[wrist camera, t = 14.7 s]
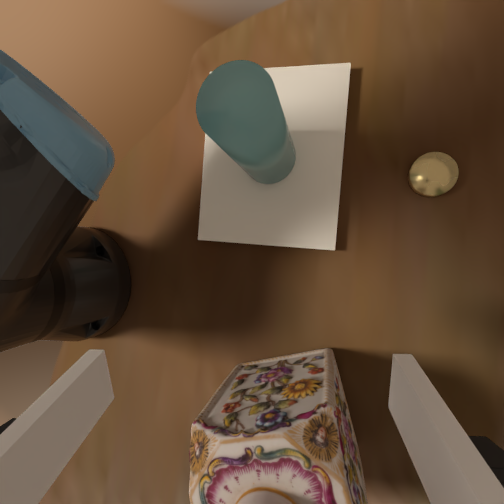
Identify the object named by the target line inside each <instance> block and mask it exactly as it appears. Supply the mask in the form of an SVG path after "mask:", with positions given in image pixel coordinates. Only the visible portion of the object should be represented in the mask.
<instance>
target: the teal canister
mask: <svg viewBox="0 0 504 504" xmlns="http://www.w3.org/2000/svg"><path fill="white" fill-rule="evenodd" d="M196 113H197V118H198V121H199V124H200V126H201V128H202V129H203V131H204V132H205V133H206V134H207V135H208V136H209V137H210V138H211V139H212V140H213V141H214V142H215V143H216V144H217V145H218V146H219V147H220V148H221V149H222V150H223V151H224V152H225V153H226V154H227V155H228V156H229V157H231V158H232V159H233V160H234V161H235V162H236V163H237V164H238V165H239V166H240V167H241V168H242V169H243V170H244V171H245V172H246V173H247V174H248V175H249V176H250V177H251V178H252V179H254V180H255V181H257V182H259V183H262V184H274V183H277V182H279V181H281V180H283V179H284V178H286V177H287V176H288V175H289V173H290V172H291V171H292V169H293V167H294V164H295V160H296V151H295V147H294V144H293V141H292V138H291V135H290V132H289V128H288V125H287V122H286V119H285V116H284V113H283V110H282V107H281V104H280V101H279V97H278V94H277V91H276V88H275V85H274V82H273V80H272V78H271V76H270V75H269V73H268V72H267V71H266V70H265V69H264V68H263V67H261V66H260V65H258V64H256V63H254V62H251V61H246V60H236V61H231V62H228V63H225V64H223V65H221V66H219V67H218V68H216V69H215V70H214V71H213V72H212V73H210V74H209V76H208V77H207V78H206V79H205V81H204V82H203V84H202V86H201V88H200V90H199V93H198V96H197V102H196Z"/></svg>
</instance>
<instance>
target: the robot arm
mask: <svg viewBox="0 0 504 504" xmlns="http://www.w3.org/2000/svg"><path fill="white" fill-rule="evenodd" d="M114 162H115V158H114V152H113V150H112V148H111V146H110V144H109V143H108V142H107V140H106V139H105V138H104V137H103V135H102V134H100V132H99V131H98V130H97V129H96V128H95V127H93V126H92V125H91V124H90V123H89V122H88V121H87V120H86V119H85V118H84V117H83V116H81V114H79V113H78V112H77V111H76V110H75V109H74V108H73V107H71V106H70V105H69V104H68V103H67V102H66V101H64V100H63V99H62V98H61V97H60V96H59V95H57V94H56V93H55V92H54V91H53V90H51V89H50V88H49V87H48V86H47V85H45V84H44V83H43V82H42V81H41V80H39V79H38V78H37V77H36V76H34V75H33V74H32V73H31V72H29V71H28V70H27V69H25V68H24V67H23V66H22V65H20V64H19V63H18V62H17V61H15V60H14V59H13V58H11V57H10V56H9V55H7V54H6V53H5V52H3V51H2V50H0V352H3V351H6V350H9V349H12V348H16V347H18V346H22V345H25V344H27V343H31V342H34V341H37V340H48V341H49V340H50V341H80V340H85V339H89V338H91V337H94V336H97V335H100V334H102V333H104V332H106V331H107V330H109V329H110V328H112V327H113V326H114V325H115V324H116V323H117V322H118V320H119V319H120V318H121V316H122V315H123V313H124V311H125V309H126V306H127V304H128V300H129V296H130V288H131V279H130V271H129V267H128V264H127V261H126V258H125V256H124V254H123V252H122V251H121V249H120V247H119V246H118V245H117V244H116V242H115V241H114V240H113V239H112V238H110V237H109V236H108V235H106V234H105V233H103V232H101V231H99V230H97V229H93V228H89V227H78V224H79V223H80V221H81V220H82V218H83V217H84V215H85V214H86V212H87V211H88V209H89V208H90V206H91V205H92V203H93V202H94V201H97V199H98V198H99V191H100V190H101V188H102V186H103V185H104V183H105V181H106V179H107V178H108V176H109V174H110V173H111V171H112V169H113V167H114ZM113 399H114V394H113V389H112V385H111V380H110V375H109V370H108V365H107V360H106V356H105V351H104V350H88V351H87V352H86V353H85V354H84V355H83V356H82V357H81V358H80V359H79V360H78V361H77V362H76V363H75V364H74V365H73V366H71V367H70V368H69V369H68V370H67V371H66V372H65V373H64V374H63V375H62V376H61V377H60V378H59V379H58V380H57V381H56V382H55V383H54V384H53V385H52V386H51V387H50V388H48V389H47V390H46V391H45V392H44V393H43V394H42V395H41V396H40V397H39V398H38V399H37V400H36V401H35V402H34V403H33V404H32V405H31V406H30V407H29V408H28V409H27V410H25V411H24V413H22V414H21V415H20V416H19V417H18V418H17V419H16V418H12V419H11V420H9V421H8V422H6V423H5V424H3V425H2V426H0V504H38V503H39V502H40V501H41V499H42V498H43V496H44V495H45V494H46V492H47V491H48V489H49V488H50V487H51V485H52V484H53V482H54V481H55V480H56V478H57V477H58V476H59V474H60V473H61V471H62V470H63V469H64V467H65V466H66V464H67V463H68V462H69V460H70V459H71V457H72V456H73V455H74V453H75V452H76V451H77V449H78V448H79V446H80V445H81V444H82V442H83V441H84V439H85V438H86V437H87V435H88V434H89V433H90V431H91V430H92V428H93V427H94V426H95V424H96V423H97V421H98V420H99V419H100V417H101V416H102V414H103V413H104V412H105V410H106V409H107V408H108V406H109V405H110V403H111V402H112V401H113ZM388 407H389V410H390V412H391V414H392V417H393V419H394V421H395V423H396V426H397V428H398V430H399V432H400V435H401V437H402V439H403V442H404V444H405V446H406V448H407V451H408V453H409V455H410V457H411V460H412V462H413V464H414V467H415V469H416V471H417V473H418V476H419V478H420V480H421V482H422V485H423V487H424V489H425V492H426V494H427V496H428V498H429V501H430V503H431V504H504V451H503V450H502V449H501V448H500V447H498V446H497V445H496V444H495V443H493V442H492V441H491V440H490V439H488V438H487V437H483V436H468V435H467V434H466V433H465V431H464V430H463V428H462V427H461V425H460V424H459V422H458V421H457V419H456V418H455V416H454V415H453V414H452V412H451V411H450V409H449V408H448V406H447V405H446V403H445V402H444V400H443V399H442V398H441V396H440V395H439V393H438V392H437V390H436V389H435V387H434V386H433V384H432V383H431V382H430V380H429V379H428V377H427V376H426V374H425V373H424V371H423V370H422V368H421V367H420V366H419V364H418V363H417V361H416V360H415V358H414V357H413V355H412V354H393V359H392V370H391V381H390V392H389V404H388Z"/></svg>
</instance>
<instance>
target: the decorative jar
mask: <svg viewBox="0 0 504 504" xmlns="http://www.w3.org/2000/svg"><path fill="white" fill-rule="evenodd" d="M189 456H190V479H189V480H190V485H189V497H190V502H191V504H368V502H367V496H366V487H365V480H364V475H363V469H362V463H361V458H360V453H359V448H358V444H357V440H356V436H355V433H354V429H353V424H352V421H351V417H350V412H349V408H348V404H347V401H346V397H345V393H344V390H343V385H342V382H341V378H340V374H339V370H338V367H337V364H336V360H335V356H334V353H333V350H332V349H330V348H325V349H317V350H312V351H307V352H302V353H296V354H291V355H284V356H278V357H273V358H267V359H262V360H256V361H251V362H245V363H240V364H238V365H237V366H235V368H234V369H233V370H232V371H231V372H230V374H229V375H228V376H227V378H226V379H225V380H224V381H223V383H222V384H221V385H220V386H219V388H218V389H217V390H216V392H215V393H214V395H213V396H212V397H211V399H210V400H209V401H208V403H207V404H206V406H205V407H204V408H203V410H202V411H201V413H200V414H199V415H198V417H197V418H196V419H195V420H194V422H193V423H192V428H191V444H190V453H189Z"/></svg>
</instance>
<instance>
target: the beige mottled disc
mask: <svg viewBox="0 0 504 504" xmlns="http://www.w3.org/2000/svg"><path fill="white" fill-rule="evenodd" d="M458 174H459V170H458V166H457V164H456V162H455V160H454V159H453V158H452V157H450V156H449V155H447V154H445V153H441V152H430V153H427V154H424V155H422V156H421V157H419V158H418V159H417V160H416V161H415V162H414V163H413V164H412V166H411V167H410V169H409V172H408V183H409V185H410V187H411V189H412V190H413V191H414V192H415V193H417V194H419V195H421V196H424V197H436V196H439V195H441V194H443V193H445V192H447V191H448V190H450V189H451V188H452V187H453V186H454V185H455V183H456V181H457V179H458Z"/></svg>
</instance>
